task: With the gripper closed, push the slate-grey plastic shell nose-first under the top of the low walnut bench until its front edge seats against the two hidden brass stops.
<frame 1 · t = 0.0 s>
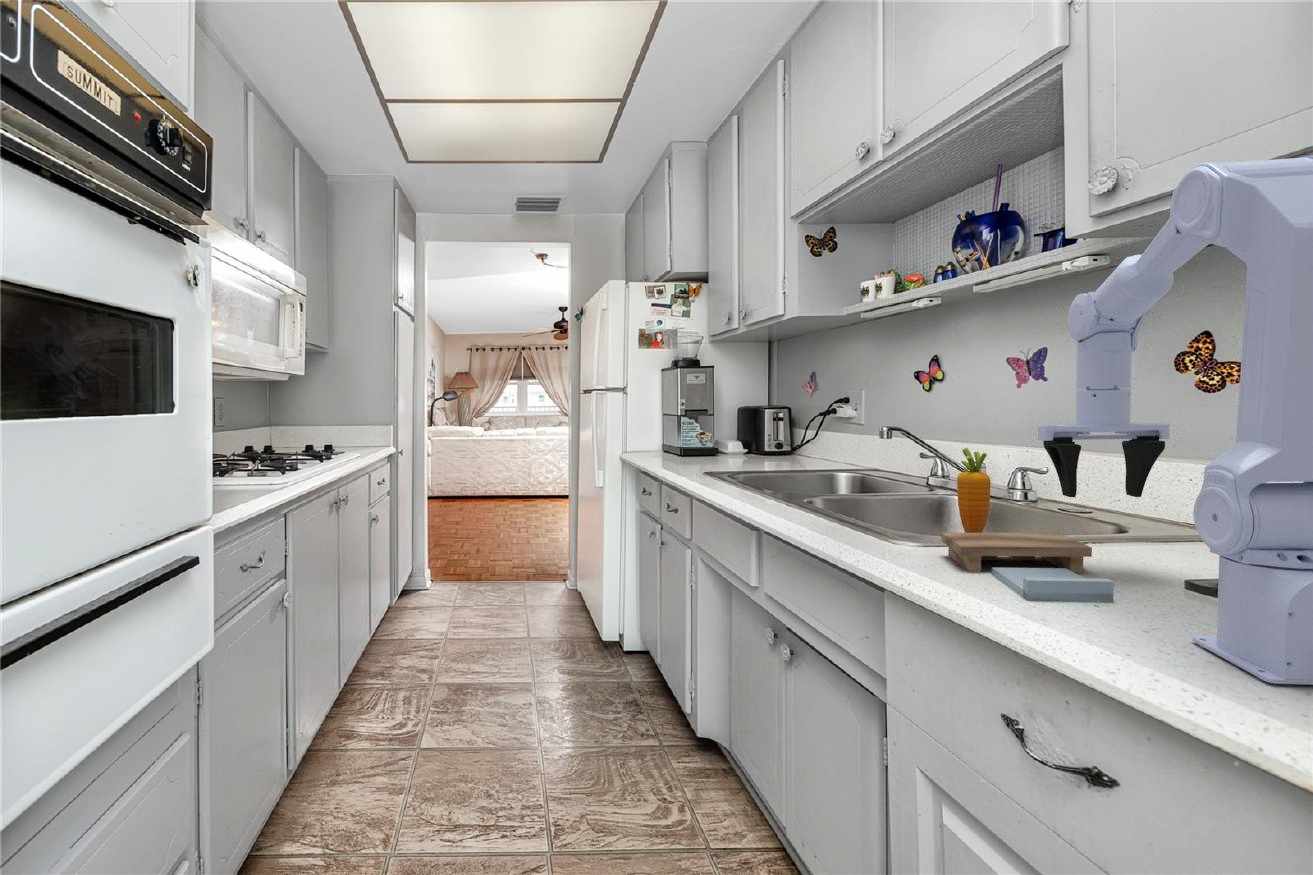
hand: (1101, 496, 84), 10 cm above the worktop, tool pointing down, fingers open, 7 cm apart
bench: (1011, 564, 90), on the worktop
shell: (1047, 589, 80), on the worktop
carrot: (973, 545, 103), on the worktop
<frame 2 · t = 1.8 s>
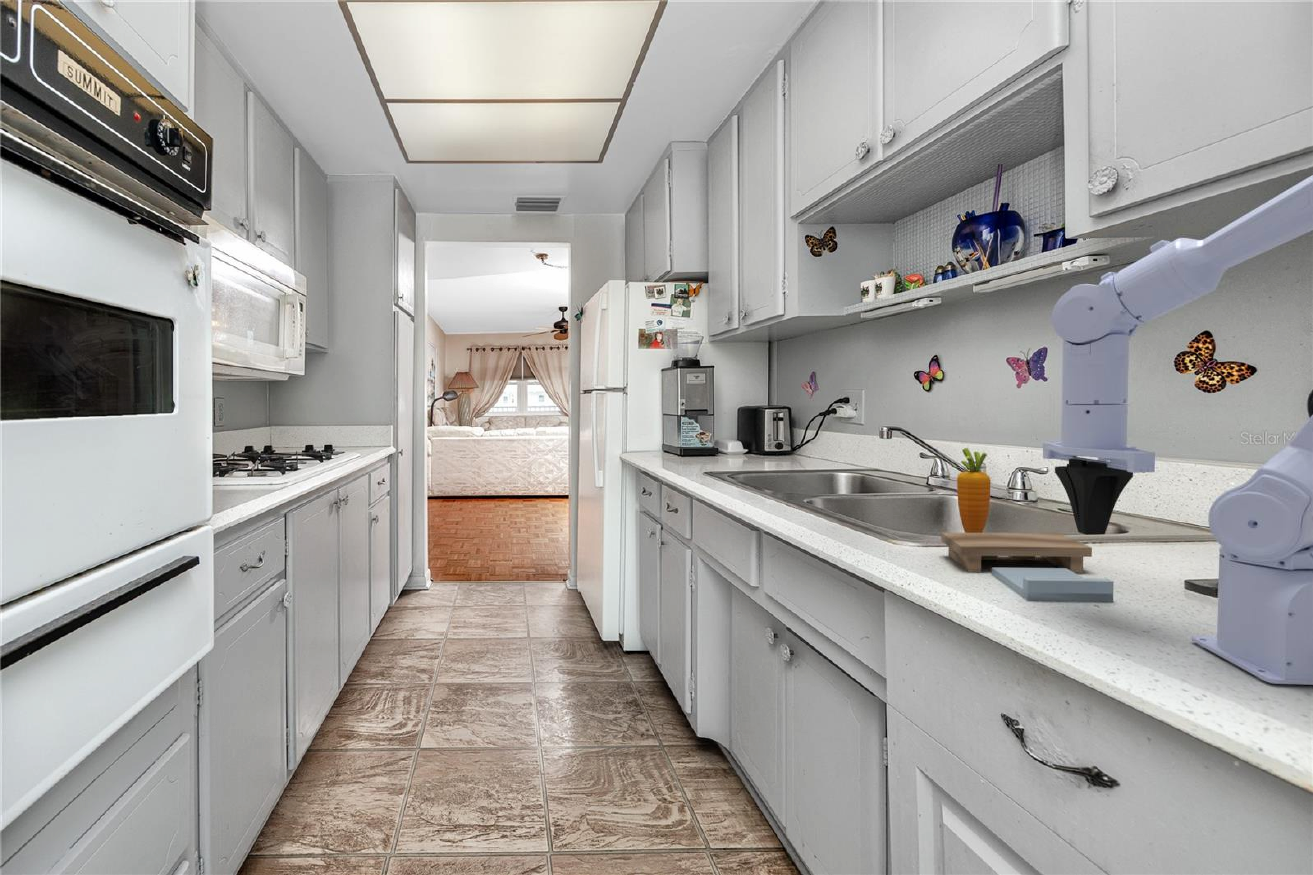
hand: (1091, 533, 69), 9 cm above the worktop, tool pointing down, fingers closed
nothing on the worktop moved.
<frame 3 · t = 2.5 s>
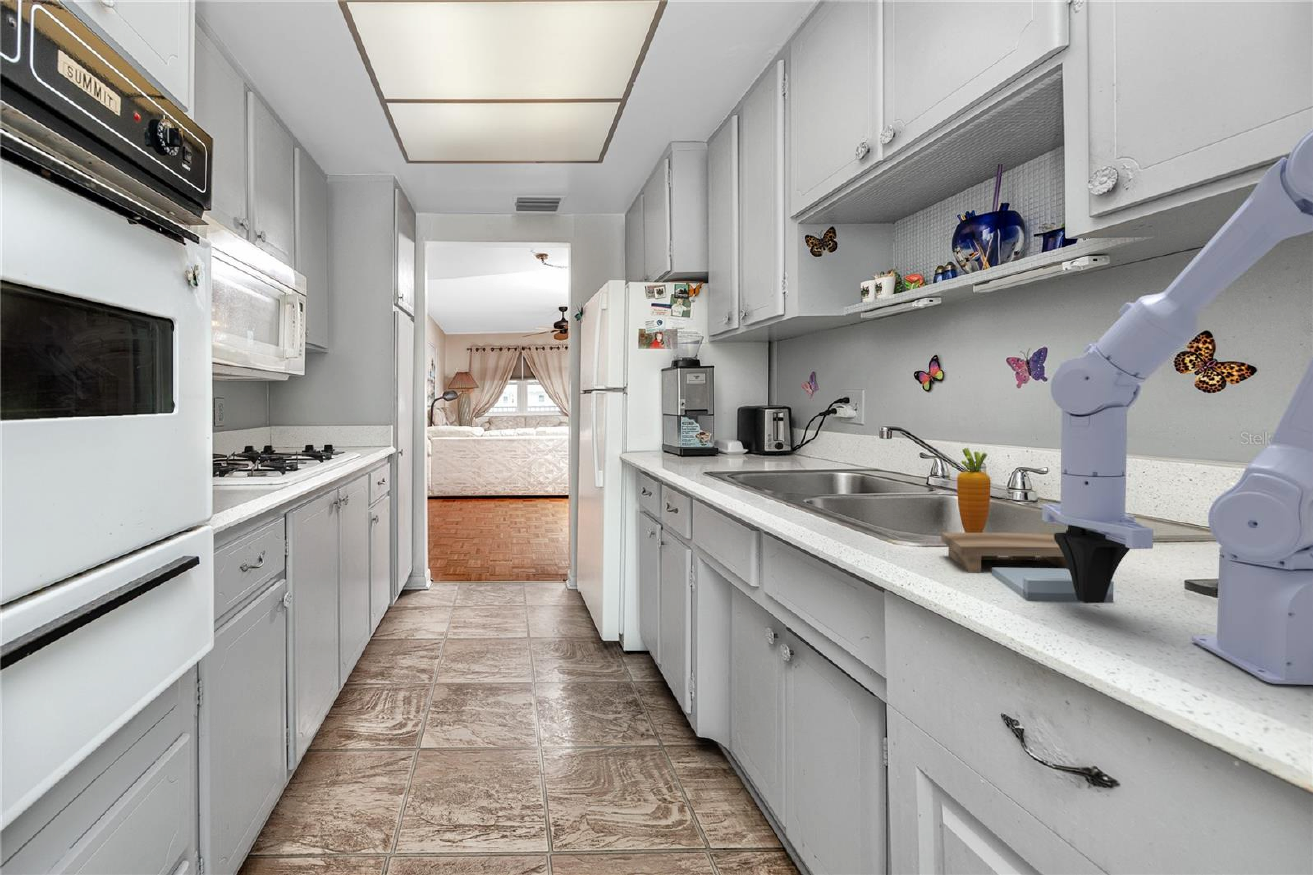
hand: (1090, 601, 70), 1 cm above the worktop, tool pointing down, fingers closed
nothing on the worktop moved.
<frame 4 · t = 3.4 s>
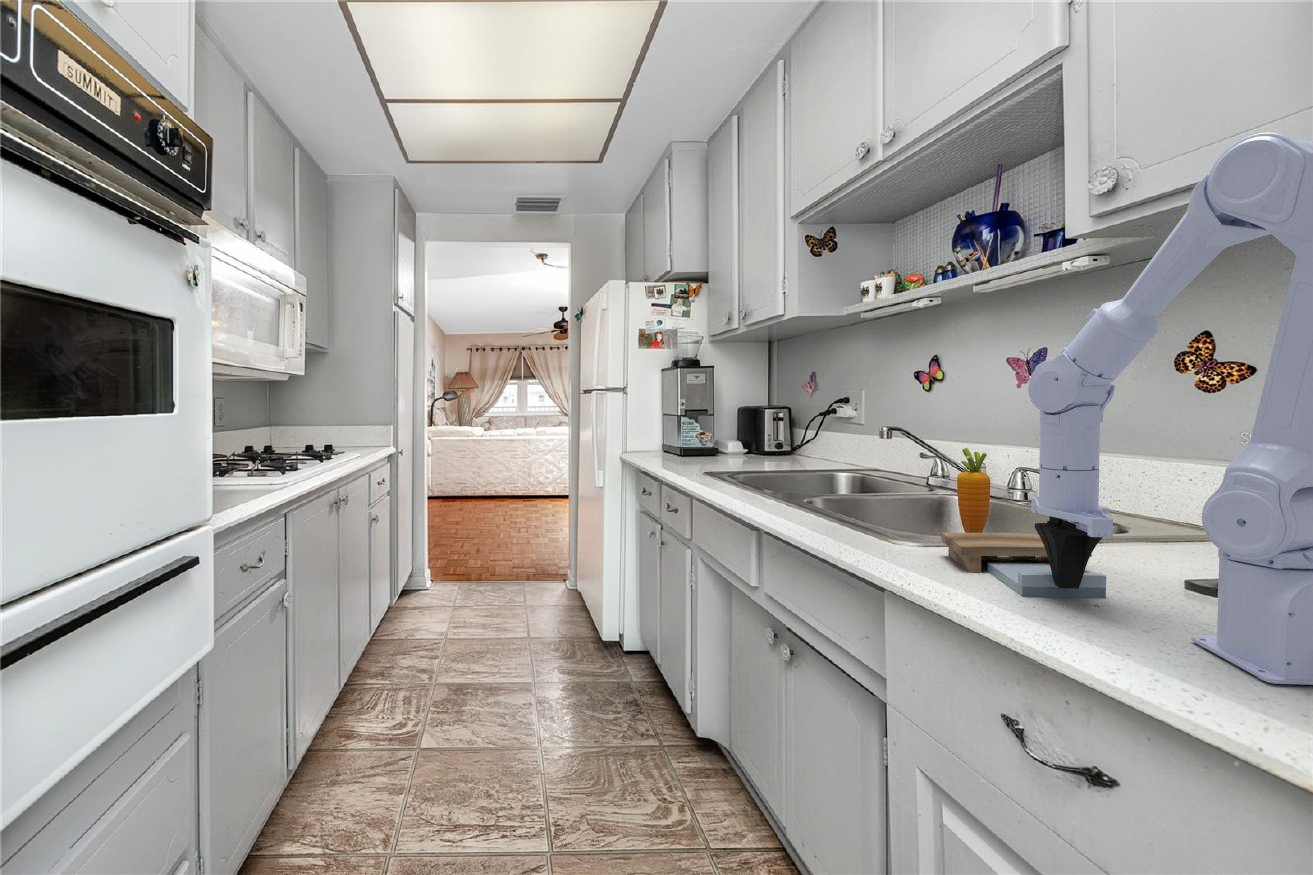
hand: (1066, 586, 75), 1 cm above the worktop, tool pointing down, fingers closed
shell: (1042, 583, 81), on the worktop, touching gripper
everything else where it was.
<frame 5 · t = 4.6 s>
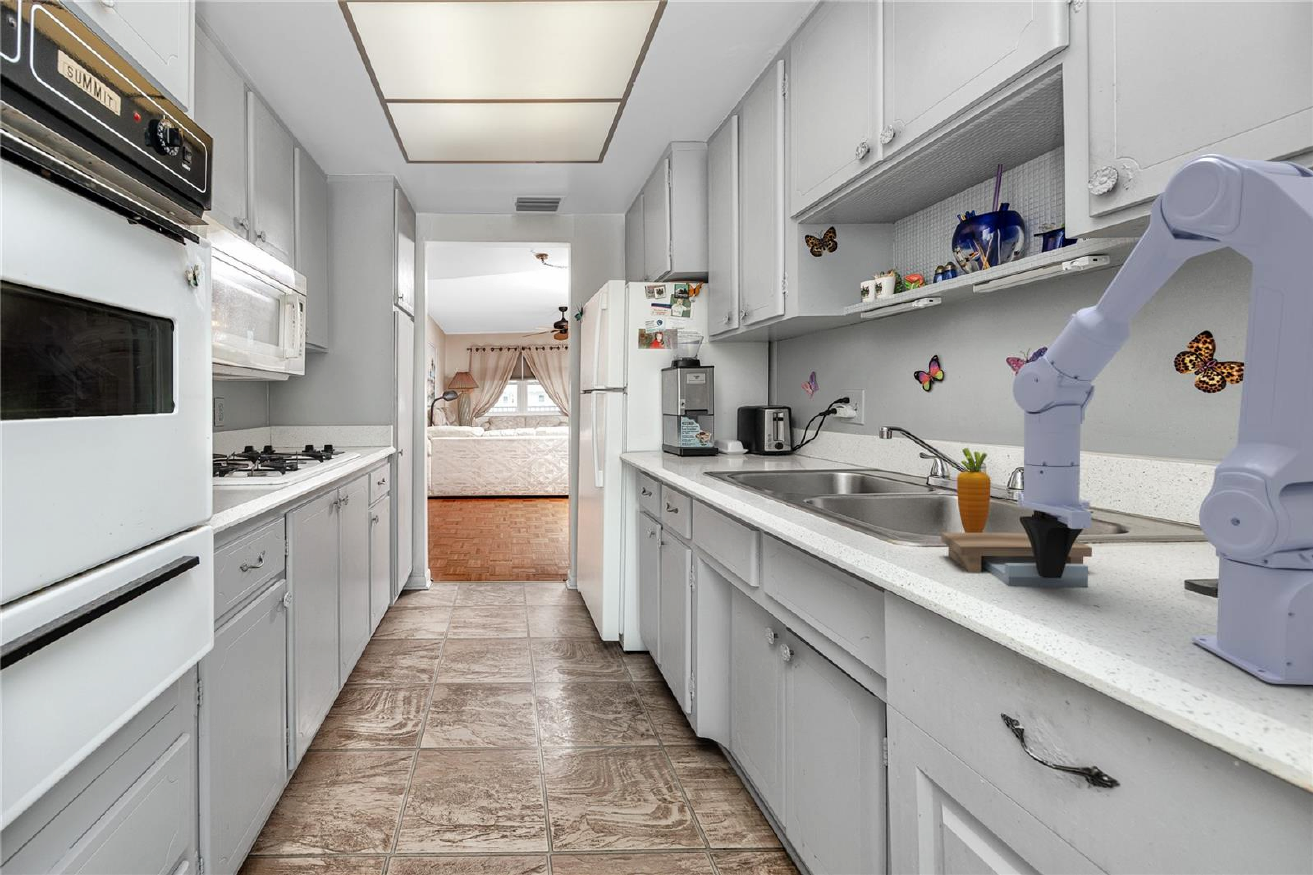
hand: (1049, 576, 79), 1 cm above the worktop, tool pointing down, fingers closed
shell: (1028, 574, 85), on the worktop, touching gripper
everything else where it was.
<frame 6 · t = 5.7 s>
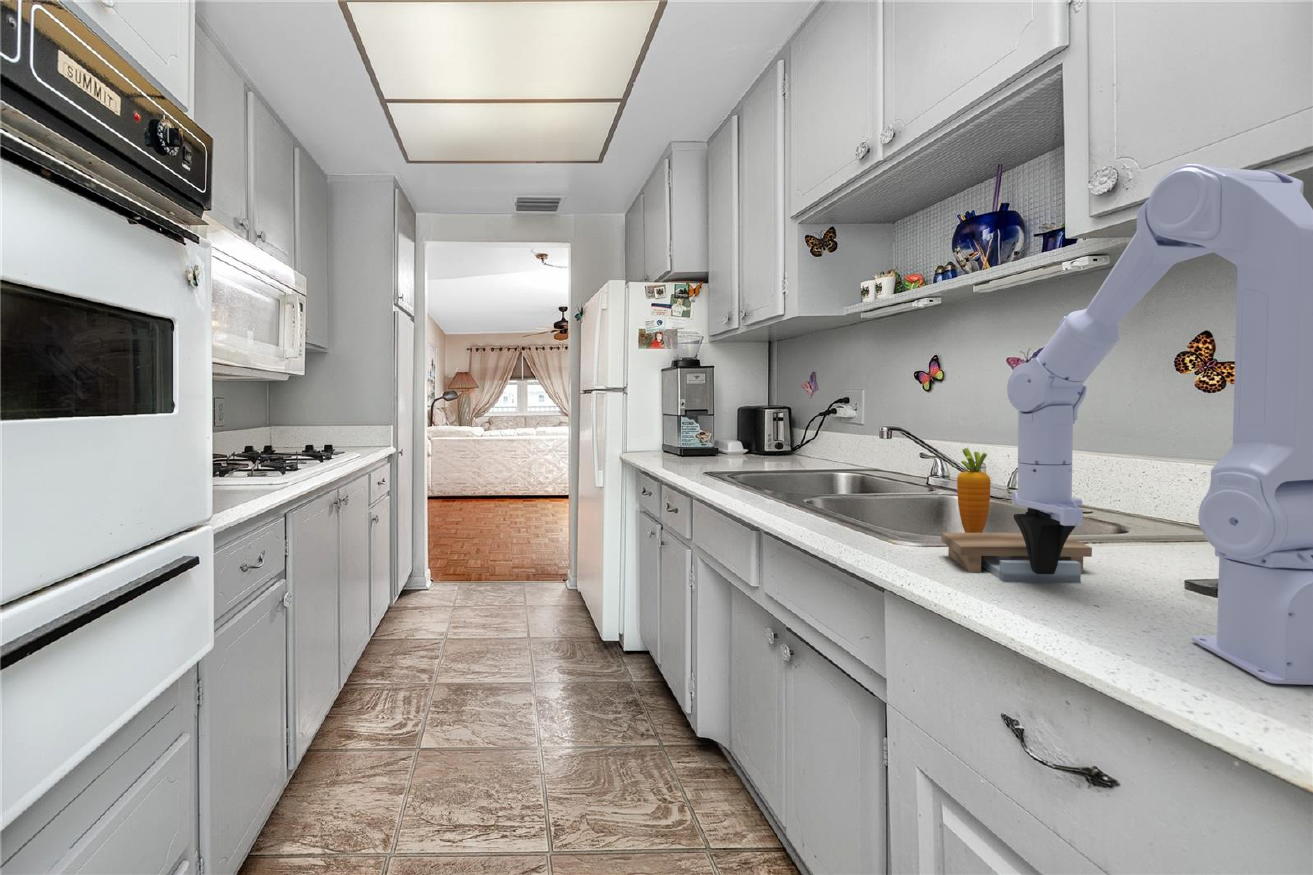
hand: (1043, 572, 81), 1 cm above the worktop, tool pointing down, fingers closed
shell: (1023, 571, 87), on the worktop, touching gripper
everything else where it was.
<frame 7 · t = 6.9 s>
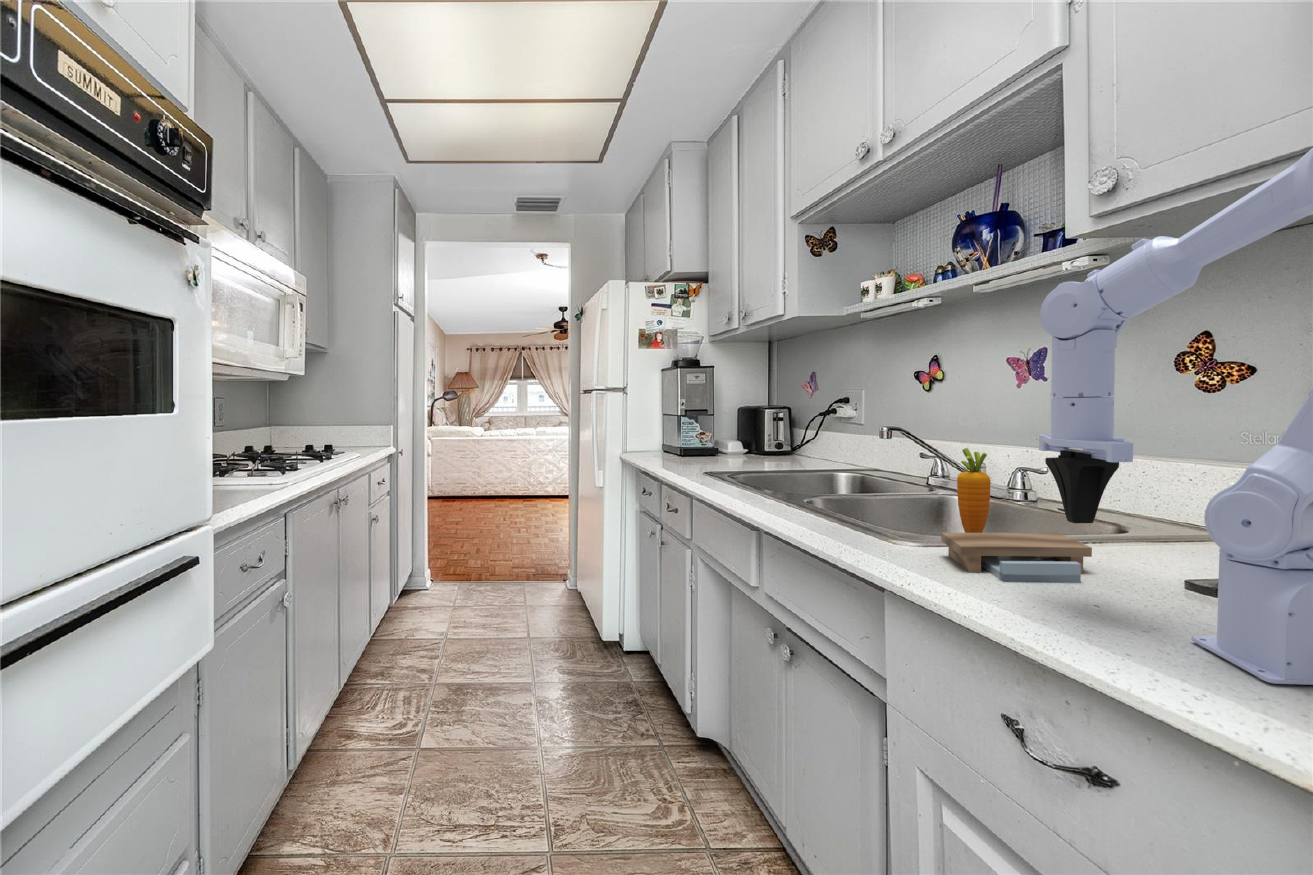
hand: (1080, 522, 72), 9 cm above the worktop, tool pointing down, fingers closed
shell: (1023, 572, 87), on the worktop
everything else where it was.
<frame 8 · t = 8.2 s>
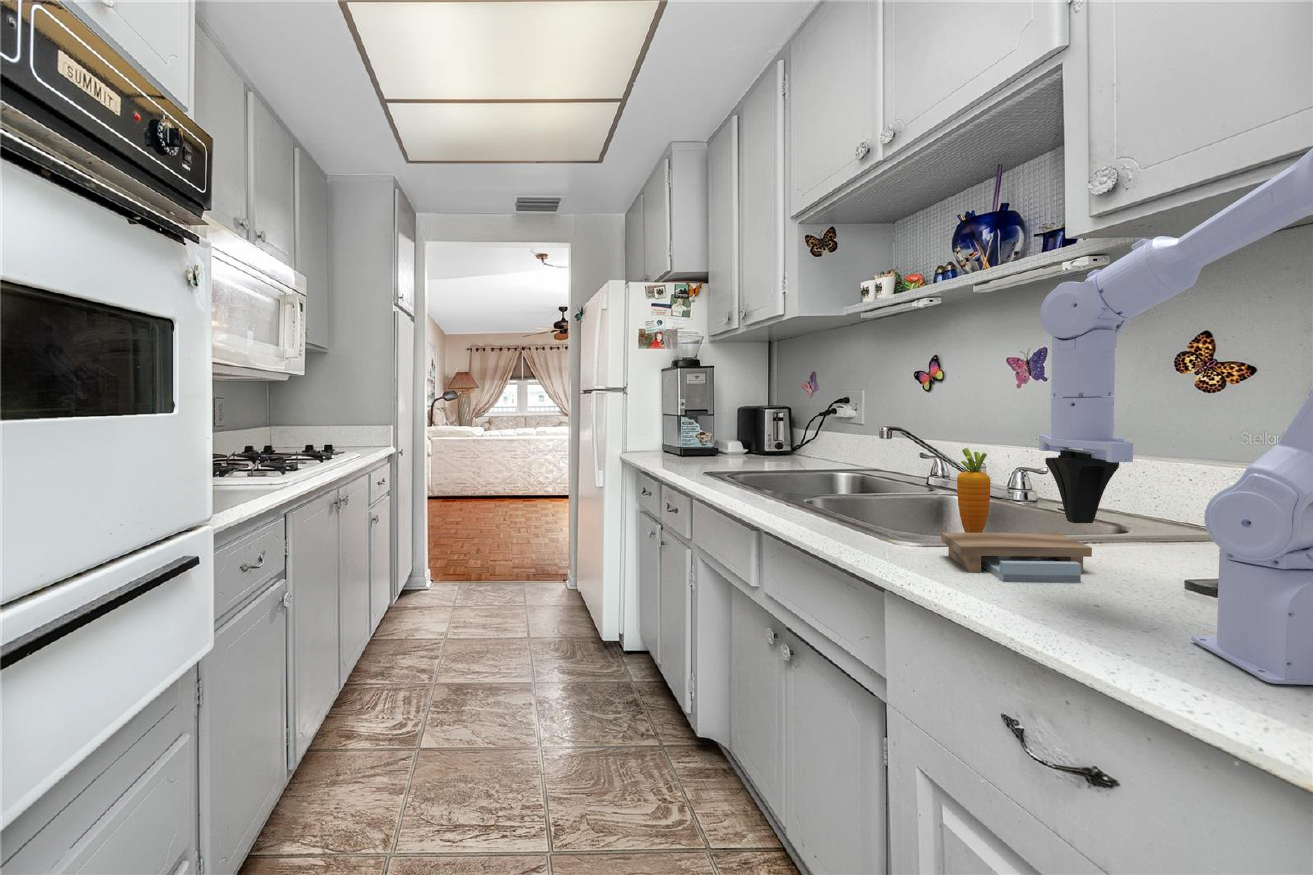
hand: (1080, 522, 72), 9 cm above the worktop, tool pointing down, fingers closed
nothing on the worktop moved.
at the end: shell 0.2 cm from the target spot, on the worktop; shell tilted 0° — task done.
